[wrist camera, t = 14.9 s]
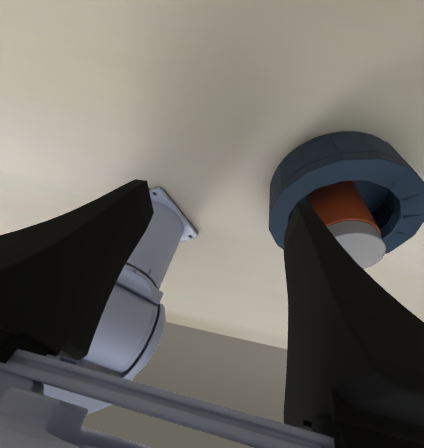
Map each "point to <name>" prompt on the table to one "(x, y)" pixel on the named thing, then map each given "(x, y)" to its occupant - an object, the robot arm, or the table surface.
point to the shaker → (349, 221)
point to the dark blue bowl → (351, 171)
